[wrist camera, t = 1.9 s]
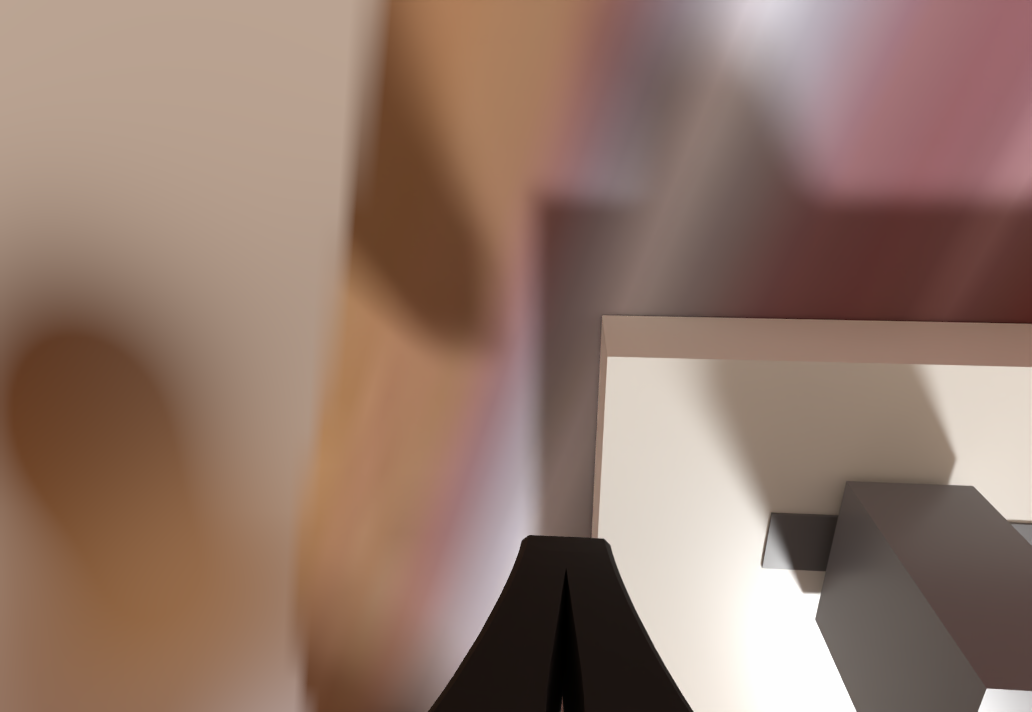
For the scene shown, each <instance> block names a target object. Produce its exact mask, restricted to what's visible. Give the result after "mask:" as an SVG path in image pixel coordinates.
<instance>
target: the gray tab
mask: <svg viewBox="0 0 1032 712" xmlns="http://www.w3.org/2000/svg"><path fill="white" fill-rule="evenodd" d="M815 621H816V623H817V625H818V627H819V630H820V632H821V634H822V636H823V639H824V641H825V643H826V645H827V648H828V650H829V652H830V654H831V656H832V659H833V661H834V663H835V665H836V668H837V670H838V672H839V674H840V677H841V679H842V681H843V683H844V686H845V688H846V690H847V692H848V694H849V697H850V699H851V701H852V703H853V706H854V708H855V710H856V712H1032V545H1031V544H1030V543H1029V542H1028V541H1027V540H1026V539H1025V538H1024V537H1023V536H1022V535H1021V534H1020V533H1019V532H1018V531H1017V530H1016V529H1015V528H1014V527H1013V526H1012V525H1011V524H1010V523H1009V522H1008V521H1007V520H1006V519H1005V518H1004V517H1003V516H1002V515H1001V514H1000V513H999V512H998V511H997V510H996V509H995V508H994V507H993V506H992V505H991V504H990V503H989V502H988V500H987V499H986V498H985V497H984V496H983V495H982V494H981V493H980V492H979V491H978V490H977V489H976V488H975V487H974V486H965V485H938V484H911V483H885V482H858V481H846V485H845V489H844V493H843V498H842V502H841V507H840V511H839V515H838V520H837V524H836V529H835V533H834V537H833V542H832V546H831V551H830V555H829V559H828V564H827V568H826V573H825V577H824V581H823V586H822V590H821V595H820V599H819V603H818V608H817V612H816V617H815Z"/></svg>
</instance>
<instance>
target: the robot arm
mask: <svg viewBox="0 0 1032 712" xmlns="http://www.w3.org/2000/svg"><path fill="white" fill-rule="evenodd" d="M562 696H563V710H564V712H693V710H692V708H691V707H690V705H689V704H688V702H687V701H686V699H685V697H684V696H683V694H682V693H681V691H680V689H679V688H678V686H677V684H676V683H675V681H674V679H673V678H672V676H671V674H670V673H669V671H668V669H667V668H666V666H665V664H664V662H663V661H662V659H661V657H660V655H659V654H658V652H657V650H656V648H655V646H654V644H653V642H652V641H651V639H650V637H649V635H648V633H647V631H646V629H645V627H644V625H643V623H642V621H641V619H640V618H639V616H638V614H637V611H636V609H635V607H634V605H633V603H632V601H631V599H630V596H629V594H628V592H627V590H626V587H625V585H624V583H623V580H622V578H621V575H620V573H619V570H618V568H617V565H616V562H615V559H614V556H613V553H612V549H611V545H610V544H609V543H608V542H607V541H606V540H605V539H603V538H581V537H558V536H535V535H529V536H527V537H526V538H525V539H523V540H522V542H521V546H520V550H519V553H518V556H517V558H516V561H515V564H514V566H513V569H512V571H511V573H510V576H509V578H508V580H507V582H506V584H505V586H504V589H503V591H502V593H501V595H500V597H499V599H498V601H497V602H496V604H495V606H494V608H493V610H492V612H491V614H490V616H489V617H488V619H487V621H486V623H485V625H484V627H483V629H482V630H481V632H480V634H479V635H478V637H477V639H476V640H475V642H474V644H473V645H472V647H471V648H470V650H469V652H468V653H467V655H466V656H465V658H464V660H463V661H462V663H461V664H460V666H459V668H458V669H457V671H456V672H455V674H454V676H453V677H452V679H451V680H450V681H449V683H448V684H447V686H446V687H445V689H444V690H443V692H442V693H441V695H440V696H439V697H438V699H437V700H436V702H435V703H434V704H433V706H432V707H431V708H430V710H429V711H428V712H561V704H562Z"/></svg>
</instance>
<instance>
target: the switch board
mask: <svg viewBox="0 0 1032 712" xmlns="http://www.w3.org/2000/svg"><path fill="white" fill-rule="evenodd" d="M846 481H858V482H885V483H911V484H938V485H965V486H974V487H975V488H976V489H977V490H978V491H979V492H980V493H981V494H982V495H983V496H984V497H985V498H986V499H987V500H988V502H989V503H990V504H991V505H992V506H993V507H994V508H995V509H996V510H997V511H998V512H999V513H1000V514H1001V515H1002V516H1003V517H1004V518H1005V519H1006V520H1007V521H1008V522H1009V523H1010V524H1011V525H1012V526H1013V527H1014V528H1015V529H1016V530H1017V531H1018V532H1019V533H1020V534H1021V535H1022V536H1023V537H1024V538H1025V539H1026V540H1027V541H1028V542H1029V543H1030V544H1031V545H1032V324H1015V323H965V322H915V321H866V320H816V319H766V318H716V317H667V316H617V315H602V328H601V349H600V370H599V390H598V411H597V432H596V453H595V473H594V494H593V515H592V536H591V538H603V539H605V540H606V541H607V542H608V543H609V544H610V545H611V549H612V553H613V556H614V559H615V562H616V565H617V568H618V570H619V573H620V575H621V578H622V580H623V583H624V585H625V587H626V590H627V592H628V594H629V596H630V599H631V601H632V603H633V605H634V607H635V609H636V611H637V614H638V616H639V618H640V619H641V621H642V623H643V625H644V627H645V629H646V631H647V633H648V635H649V637H650V639H651V641H652V642H653V644H654V646H655V648H656V650H657V652H658V654H659V655H660V657H661V659H662V661H663V662H664V664H665V666H666V668H667V669H668V671H669V673H670V674H671V676H672V678H673V679H674V681H675V683H676V684H677V686H678V688H679V689H680V691H681V693H682V694H683V696H684V697H685V699H686V701H687V702H688V704H689V705H690V707H691V708H692V710H693V712H856V710H855V708H854V706H853V703H852V701H851V699H850V697H849V694H848V692H847V690H846V688H845V686H844V683H843V681H842V679H841V677H840V674H839V672H838V670H837V668H836V665H835V663H834V661H833V659H832V656H831V654H830V652H829V650H828V648H827V645H826V643H825V641H824V639H823V636H822V634H821V632H820V630H819V627H818V625H817V623H816V621H815V617H816V612H817V608H818V603H819V599H820V595H821V590H822V586H823V581H824V577H825V573H826V568H827V564H828V559H829V555H830V551H831V546H832V542H833V537H834V533H835V529H836V524H837V520H838V515H839V511H840V507H841V502H842V498H843V493H844V489H845V485H846Z"/></svg>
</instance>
